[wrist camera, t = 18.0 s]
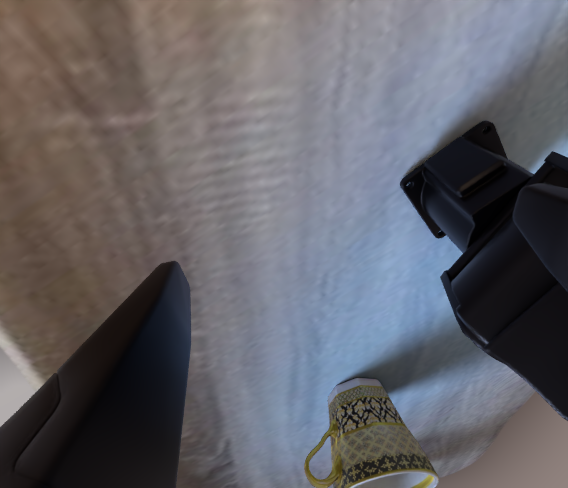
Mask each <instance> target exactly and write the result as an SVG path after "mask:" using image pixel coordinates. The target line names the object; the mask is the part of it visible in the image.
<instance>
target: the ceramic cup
mask: <svg viewBox="0 0 568 488" xmlns="http://www.w3.org/2000/svg"><path fill="white" fill-rule="evenodd" d="M328 406H329V418H330V427H329V430H328V431H327V432H326V433H325V434H324V436H323V437H322V439H321V441H320V442H319V444H318V445H317V446H316V447H315V448H314V449H313V450H312V451H311V452H310V453H309V454H308V456H307V458H306V460H305V465H304V469H305V474H306V476H307V479H308V480H309V482H310V483H311V484H312V485H313V486H314V487H316V488H327V487H329V486H331V485H332V484H333V488H435V487H436V486H437V484H438V482H439V478H438V475H437V473H436V472H435V470H434V468H433V466H432V465H431V463H430V461H429V459H428V458H427V456H426V455H425V453H424V451H423V450H422V448H421V446H420V445H419V443H418V442H417V441H416V439H415V438H414V436H413V435H412V434H411V432H410V431H409V430H408V428H407V427H406V425H405V424H404V422H403V420H402V419H401V417H400V415H399V414H398V412H397V410H396V408H395V407H394V405H393V403H392V401H391V400H390V398H389V396H388V395H387V393H386V391H385V390H384V388H383V386H382V385H381V383H380V382H379V381H378V380H377V379H367V378H355V379H352V380H350V381H347V382H345V383H342V384H339V385H337V386H335V388H334V389H333V391H332V392H331V393H330V395H329V396H328ZM329 436H330V437H331V457H332V472H331V473H330V475H329V476H328V477H327V478H326V479H323V480H320V479H316V478H315V477H314V476H313V475H312V474H311V472H310V470H309V461H310V459H311V458H312V457H313V456H314V455H315V453H316V452H317V451H318V450H319V449H320V448H321V447H322V446H323V444H324V442H325V440H326V439H327V437H329Z"/></svg>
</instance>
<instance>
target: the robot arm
mask: <svg viewBox="0 0 568 488" xmlns="http://www.w3.org/2000/svg"><path fill="white" fill-rule="evenodd" d="M485 127H487V128H486V130H485V131H484V132H483V129H484V128H485ZM544 161H546V162H545V163H544V164H543V165H542V166H541V167H540V169H539V170H538V171H537V172H536V173H535V174H533V173H531V172H529V171H527V170H526V169H524V168H522V167H520V166H519V165H517V164H515V163H513V162H512V161H510V160H508V158H507V156H506V153H505V151H504V148H503V146H502V143H501V141H500V138H499V136H498V133H497V131H496V128H495V126H494V124H493V123H491V122H489V121H487V120H485V121H482V122H480V123H479V124H477V125H476V126H475V127H473V128H472V129H470V130H469V131H468V132H466V133H465V134H464V135H462V136H461V137H459V138H457V139H456V140H454V141H453V142H452V143H450V144H449V145H448V146H446V147H445V148H443V149H442V150H441V151H439V152H438V153H437V154H435V155H434V156H432V157H431V158H430V159H428V160H427V161H426V162H425V163H424V164H422V165H421V166H419V167H418V168H417V169H415V170H414V171H413V172H411V173H410V174H408V175H407V176H406V177H404V178H403V179H402V180H401V182H400V186H401V188H402V190H403V191H404V193H405V194H406V196H407V197H408V198H409V200H410V201H411V203H412V204H413V206H414V207H415V209H416V210H417V212H418V213H419V215H420V216H421V217H422V219H423V220H424V222H425V223H426V225H427V226H428V228H429V229H430V231H431V232H432V234H433V235H434V236H435V237H436V238H442V237H444V236H446V235H447V236H448V237H449V238H450V239H451V241H452V242H453V243H454V244H455V245H456V246H457V247H458V248H459V249H460V250H461V251H462V253H463V254H462V255H461V257H460V258H459V259H458V260H457V261H456V262H455V263H454V264H453V266H452V267H451V268H450V269H449V270H446V271H445V272H444V273H443V274H442V275H441V276H440V278H441V280H442V283H443V286H444V288H445V291H446V293H447V296H448V299H449V301H450V304H451V306H452V309H453V312H454V314H455V317H456V319H457V321H458V323H459V325H460V328H461V330H462V332H463V333H464V334H465V335H466V336H467V337H468V338H470V339H471V340H472V341H473V343H474V344H475V345H476V346H477V347H479V348H480V349H482V350H483V351H484V352H485V353H487V354H488V355H490V356H491V357H493V358H494V359H496V360H498V361H500V362H502V363H504V364H506V365H507V366H508V367H509V368H511V369H512V370H513V371H514V372H515V373H517V374H518V375H519V376H520V377H521V378H523V379H524V380H525V381H526V382H527V383H528V384H529V385H530V386H531V387H532V388H533V389H534V390H535V391H537V392H538V393H539V394H540V395H541V396H542V398H543V399H545V400H546V402H547V403H548V404H550V406H551V407H552V408H553V409H554V410H555V411H556V412H557V413H558V414H559V415H560V416H562V417H563V418H564V419H566V420H567V421H568V158H567V157H565V156H563V155H560V154H558V153H556V152H553V151H552V152H551V153H550V154H549V155H548V156H547V158H546V159H545V160H544ZM408 182H411V183H410V184H409V185H408V186H406V184H407V183H408ZM439 231H440V232H439ZM438 232H439V233H438ZM190 349H191V304H190V287H189V283H188V281H187V279H186V277H185V275H184V273H183V271H182V269H181V267H180V265H179V263H178V262H176V261H171V262H166V263H162V264H160V265H159V266H158V267H157V268H156V269H155V270H154V271H153V272H152V273H151V274H150V275H149V276H148V277H147V278H146V279H145V280H144V281H143V282H142V283H141V284H140V285H139V286H138V287H137V288H136V290H135V291H134V292H133V293H132V294H131V295H130V296H129V297H128V298H127V299H126V300H125V301H124V302H123V303H122V304H121V305H120V306H119V307H118V308H117V309H116V310H115V311H114V312H113V313H112V314H111V315H110V316H109V317H108V318H107V320H106V321H105V322H104V323H103V324H102V325H101V326H100V327H99V328H98V329H97V330H96V331H95V332H94V333H93V334H92V335H91V336H90V337H89V338H88V339H87V340H86V341H85V342H84V343H83V344H82V345H81V346H80V347H79V348H78V349H77V351H76V352H75V353H74V354H73V355H72V356H71V357H70V358H69V359H68V360H67V361H66V362H65V363H64V364H63V365H62V366H61V367H60V368H59V369H58V371H57V373H54V374H53V375H52V376H51V377H50V378H49V379H48V380H47V381H46V383H45V384H44V385H43V386H42V387H41V388H40V389H39V390H38V391H37V392H36V393H35V394H34V395H33V396H32V397H31V398H30V399H29V400H28V401H27V402H26V403H25V404H24V405H23V406H22V407H21V408H20V409H19V410H18V411H17V412H16V413H15V414H14V415H13V416H12V417H10V419H8V420H7V421H6V422H5V423H4V424H3V425H2V426H1V427H0V488H176V481H177V471H178V462H179V453H180V443H181V434H182V425H183V415H184V406H185V396H186V387H187V378H188V368H189V359H190Z"/></svg>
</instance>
